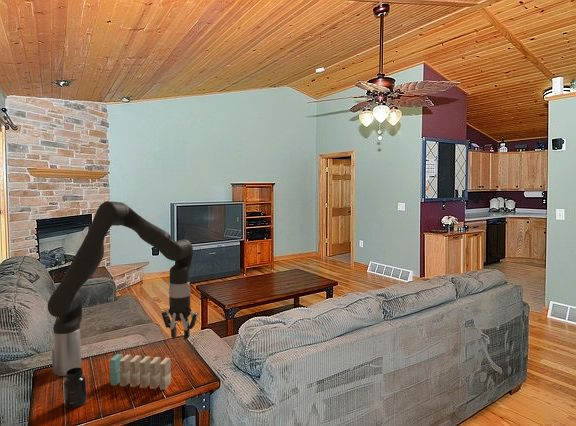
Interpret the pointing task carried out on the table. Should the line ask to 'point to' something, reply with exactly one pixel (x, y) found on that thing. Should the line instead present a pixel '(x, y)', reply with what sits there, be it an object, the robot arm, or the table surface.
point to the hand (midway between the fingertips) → (180, 338)
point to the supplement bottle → (75, 388)
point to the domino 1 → (115, 369)
